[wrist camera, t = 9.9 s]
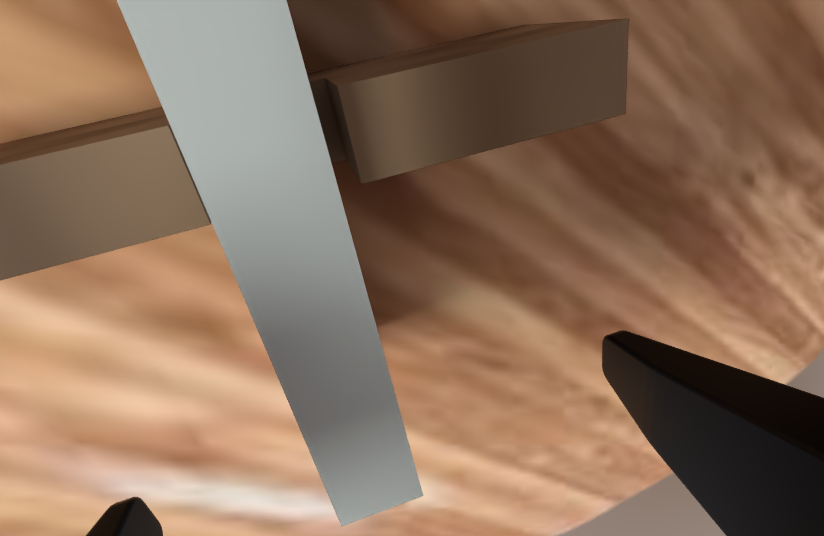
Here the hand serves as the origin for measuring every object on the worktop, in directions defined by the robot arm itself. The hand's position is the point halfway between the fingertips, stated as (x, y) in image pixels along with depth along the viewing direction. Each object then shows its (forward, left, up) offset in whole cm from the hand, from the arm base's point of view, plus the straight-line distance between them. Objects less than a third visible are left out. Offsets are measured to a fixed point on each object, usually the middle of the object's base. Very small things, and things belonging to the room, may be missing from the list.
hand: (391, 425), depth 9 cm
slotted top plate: (+1, -4, -12) cm, 12 cm away
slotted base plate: (+1, -4, -12) cm, 12 cm away
